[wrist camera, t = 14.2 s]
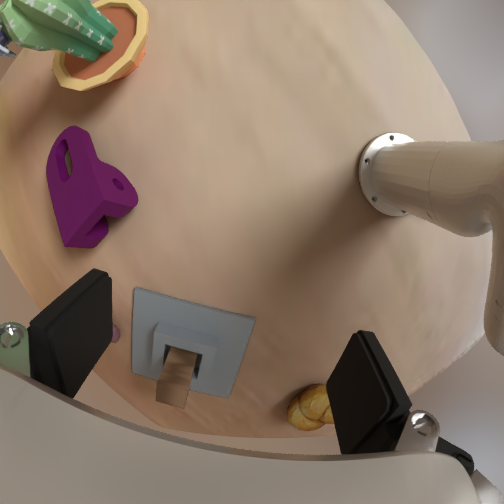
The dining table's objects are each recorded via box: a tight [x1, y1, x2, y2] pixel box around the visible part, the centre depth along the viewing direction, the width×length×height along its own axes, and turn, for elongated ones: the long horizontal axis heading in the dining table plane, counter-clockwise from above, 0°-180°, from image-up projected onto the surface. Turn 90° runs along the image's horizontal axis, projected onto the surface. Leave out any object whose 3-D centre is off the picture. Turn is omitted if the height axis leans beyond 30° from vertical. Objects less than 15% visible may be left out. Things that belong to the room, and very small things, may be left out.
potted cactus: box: [0, 0, 149, 91], centre depth 18 cm, size 15×15×25 cm
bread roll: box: [287, 384, 334, 431], centre depth 47 cm, size 13×10×8 cm
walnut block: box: [156, 346, 198, 409], centre depth 40 cm, size 4×4×11 cm
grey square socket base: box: [132, 287, 255, 399], centre depth 44 cm, size 20×20×4 cm
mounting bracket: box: [46, 126, 138, 248], centre depth 35 cm, size 10×8×18 cm
